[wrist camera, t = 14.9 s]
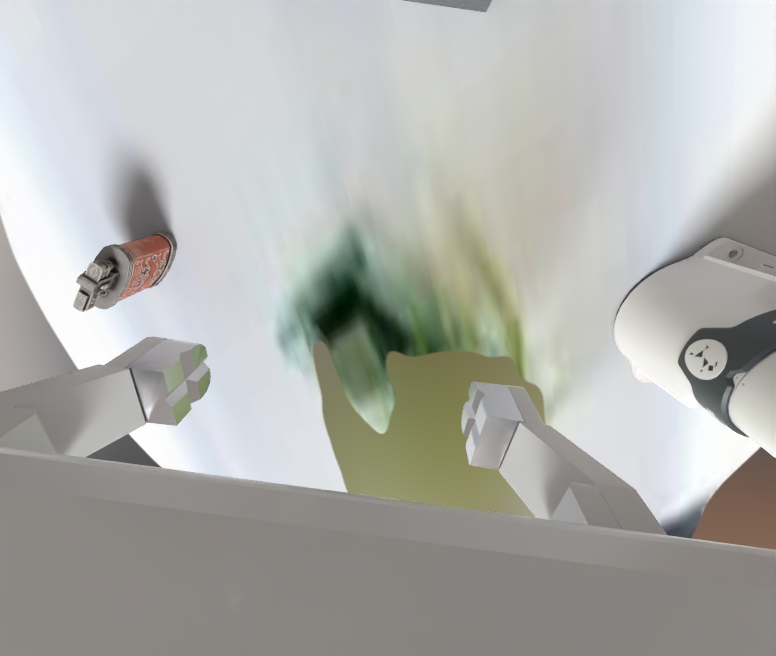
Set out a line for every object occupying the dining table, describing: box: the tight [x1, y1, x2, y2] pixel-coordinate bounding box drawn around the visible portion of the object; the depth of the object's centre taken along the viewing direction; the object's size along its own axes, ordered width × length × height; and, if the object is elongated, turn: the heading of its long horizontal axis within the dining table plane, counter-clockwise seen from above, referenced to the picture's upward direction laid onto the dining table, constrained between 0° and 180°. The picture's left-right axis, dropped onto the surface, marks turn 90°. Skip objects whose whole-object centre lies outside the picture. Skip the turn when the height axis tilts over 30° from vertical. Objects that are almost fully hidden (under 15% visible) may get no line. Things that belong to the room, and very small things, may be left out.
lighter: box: [73, 232, 177, 312], centre depth 35 cm, size 8×3×10 cm, turn 140°
